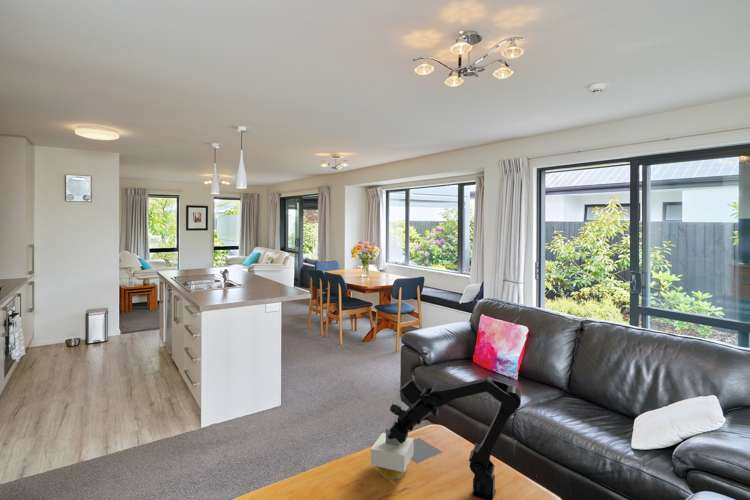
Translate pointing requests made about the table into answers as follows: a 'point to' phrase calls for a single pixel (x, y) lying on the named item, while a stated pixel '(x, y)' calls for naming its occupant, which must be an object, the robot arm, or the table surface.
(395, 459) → the cover
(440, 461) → the table surface
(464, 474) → the table surface
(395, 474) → the bread roll
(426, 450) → the mat
